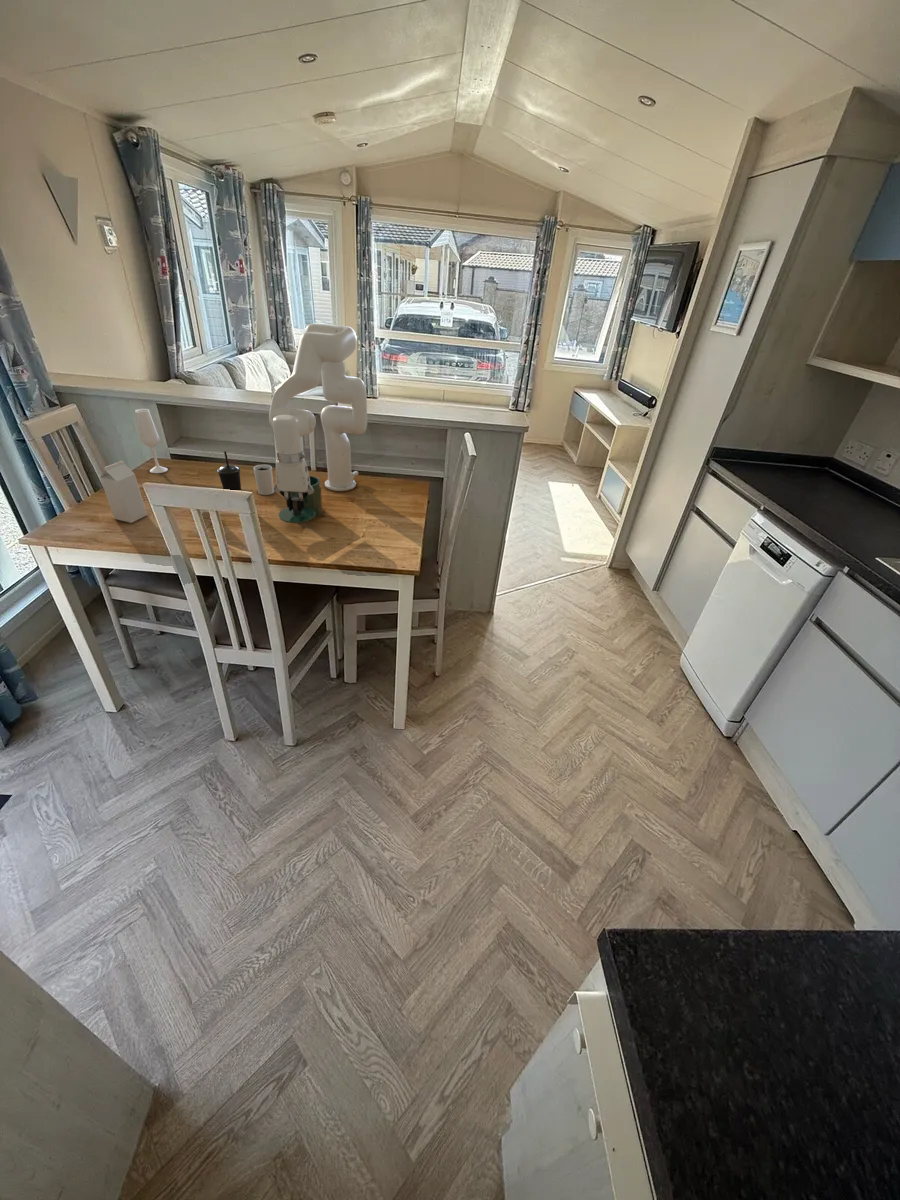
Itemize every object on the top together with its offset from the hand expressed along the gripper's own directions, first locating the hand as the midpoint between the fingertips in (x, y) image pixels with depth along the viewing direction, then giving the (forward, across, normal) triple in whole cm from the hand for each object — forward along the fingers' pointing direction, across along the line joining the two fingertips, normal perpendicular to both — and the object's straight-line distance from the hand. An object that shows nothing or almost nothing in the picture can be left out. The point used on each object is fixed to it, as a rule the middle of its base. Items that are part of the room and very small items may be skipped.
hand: (296, 509), depth 170 cm
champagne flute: (+8, +69, -45) cm, 83 cm away
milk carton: (+8, +58, -2) cm, 58 cm away
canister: (+8, 0, -13) cm, 15 cm away
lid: (+2, 0, 0) cm, 2 cm away
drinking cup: (+8, +28, -16) cm, 33 cm away
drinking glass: (+8, +20, -29) cm, 37 cm away
